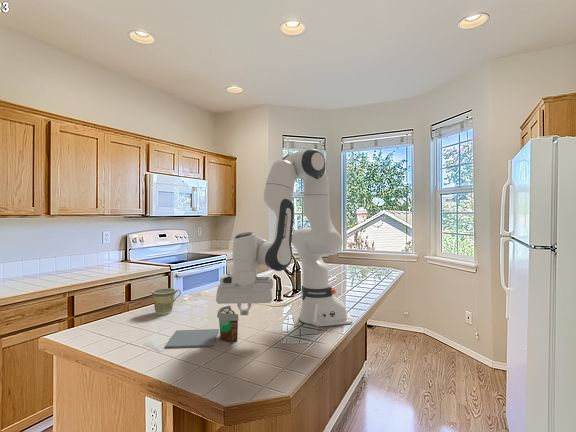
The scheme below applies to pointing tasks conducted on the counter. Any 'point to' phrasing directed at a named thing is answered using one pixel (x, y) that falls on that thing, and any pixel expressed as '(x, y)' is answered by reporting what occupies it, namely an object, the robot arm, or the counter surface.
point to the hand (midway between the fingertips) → (244, 314)
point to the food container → (228, 324)
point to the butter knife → (152, 346)
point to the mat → (192, 338)
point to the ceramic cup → (164, 300)
